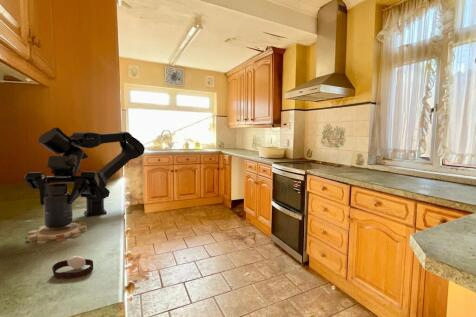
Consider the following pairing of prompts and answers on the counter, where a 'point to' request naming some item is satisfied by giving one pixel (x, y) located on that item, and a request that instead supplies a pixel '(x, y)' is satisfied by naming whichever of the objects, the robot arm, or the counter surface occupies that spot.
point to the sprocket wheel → (56, 232)
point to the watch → (74, 263)
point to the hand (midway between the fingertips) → (55, 203)
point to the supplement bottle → (57, 206)
